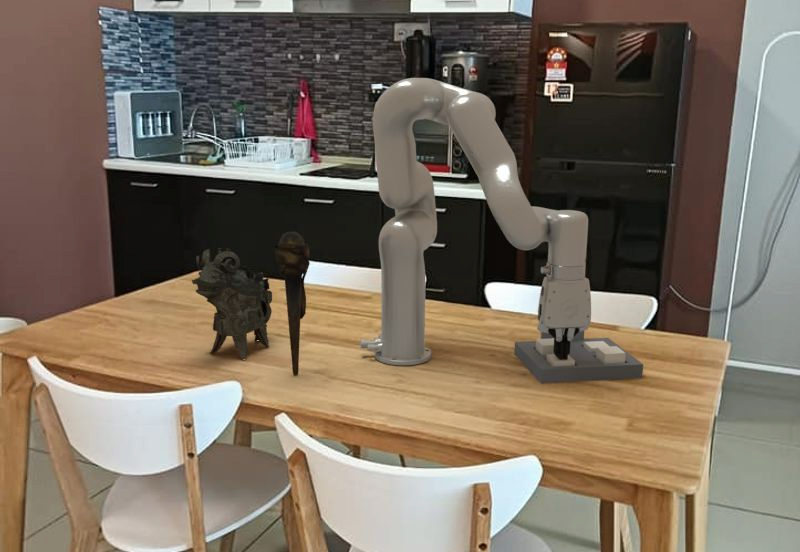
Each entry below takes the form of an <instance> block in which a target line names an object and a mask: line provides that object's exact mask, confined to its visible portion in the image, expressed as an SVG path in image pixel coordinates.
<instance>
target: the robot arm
mask: <svg viewBox="0 0 800 552" xmlns="http://www.w3.org/2000/svg"><path fill="white" fill-rule="evenodd" d="M496 116H497V115H496V107H495V104H494V103H493V102H492V100H491V99H490V98H489V97H488V96H487V95H485V94H483V93H481V92H478V91H473V90H469V89H466V88H463V87H460V86H456V85H453V84H449V83H446V82H443V81H441V80H437V79H433V78H428V77H410V78H409V77H408V78H405V79H401V80H398V81H397V82H395V83H393V84H392V85H390V86H389V87H388V88H387V89H386V90H384V91H383V92H382V94H381V95H380V96H379V97H378V99H377V101H376V103H375V105H374V109H373V114H372V129H373V130H372V131H373V138H374V140H373V141H374V147H375V148H374V149H375V162H376V163H375V164H376V173H377V183H378V187H377V188H378V193H379V197H380V198H381V201H382V203H384V204H385V206H386V207H388V208H391V209H394V213H395V215H394V216H393V217H391V218H390V219H389V220H388V221H387V222H386V223H385V224H384V225H383V226H382V228H381V230H380V232H379V236H378V252H379V259H380V270H381V285H380V286H381V287H380V288H381V327H380V328H381V333H379V334H377V335H378V337H374V339H360V341H359V347H360V349H366V351H368V352H369V351H370V352H371V351H373V353H374V359H375V360H377V361H379V362H380V363H383V364H387V365H391V366H414V365H421V364H422V363H426V362H428V361H429V360H431V358H432V350H431V349H430V348H428V347H427V346H425V333H426V331H425V330H426V329H425V326H426V266H425V260H424V259H425V258H424V253H425V252H424V251H425V250H427V249H428V248H429V247H431V246H432V245H433V243H434V242H435V240H436V237H437V233H438V220H437V207H436V196H435V184H434V180H433V177H432V175H431V172H430V170H429V169H428V168H427V167H426V166H425V165H424V164H423V163H421V162H419V161H418V160H417V149H416V148H417V146H416V140H415V136H414V135H415V134H414V132H413V125H414V123H415V121H416V122H417V121H420V120H429V121H432V122H436V123H439V124H442V125H445V126H449V127H450V130H451V132H452V134H453V135H454V137H455V139H456V141H457V143H458V144H459V145H460V147H461V149H462V151H463V152H464V154H465V156H466V158H467V160H468V162H469V163H470V164H471V166H472V168H473V170H474V172H475V175H477V177H478V178H477V179H478V180H479V184H480V188H481V190H482V192H483V194H484V197H485V199H486V202H487V205H488V207H489V209H490V211H491V214H492V216H493V217H494V220H495V221H496V223H497V224H498V226H499V228H500V230H501V231H502V233H503V235H504V237H505V238H506V240H507V241H508V242H509V243H510V244H511V245H512V246H513V247H515V248H516V249H518V250H522V251H531V250H534V249H535V248H538V246H539V245H541V244H542V243H544V242H547V243H548V254H547V262H546V265H544V266H541V267H540V273H541V274H544V275H546V276H544V277H543V281H542V285H541V289H540V293H539V298H538V306H537V320H538V323H537V328H536V329H537V330H538V331H539V332H540V333H541V332H544V333H549V334H550V335H551V336H552V337H553V338H554V350H553V352H554V354H555V356H556V357H557V358H558V359H559V360H563V359H565V360H567V359H568V354H570V341H572V340H573V337H574V336H575V335H576V334H577V333H578V332H581V331H584V332H585V331H586V330H588V329H589V328H590V327H589V326H590V324H591V322H592V297H591V296H592V293H591V287H590V280H589V278H587V277H586V264H587V263H586V262H587V250H588V249H587V246H588V231H589V217H588V214H586V213H585V212H582V211H579V210H574V209H573V210H572V209H560V210H557V209H551V208H545V207H541V206H531V203H530V201H529V200H528V198H527V196H526V194H525V192H524V190H523V187H522V184H521V182H520V179H519V174H518V165H517V159H516V156H515V153H514V151H513V150H512V148H511V146H510V144H509V142H508V141H507V139H506V137H505V136H504V133H503V132H502V131H501V129H500V127H499V125H498V123H497V122H496ZM563 328H564V331H563V335H562V332H561V329H563Z"/></svg>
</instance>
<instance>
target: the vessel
mask: <svg viewBox="0 0 800 552" xmlns="http://www.w3.org/2000/svg"><path fill="white" fill-rule="evenodd" d="M216 251H217V254H215V258H214V260H212V256H211V250H210V248H208V249H205V250H204V251H203V252H202V257H201V256H200V255H196V258H195V259H196V266H197V268H198V270H200V271H199V272H198V273H197V274H198V275H199V277H197V278H194V279H191V283H192V285H196V286H197V289H195V293H197V294H198V295H199V296H202V297H204V298H205V299H206V302H208V303H209V304H211V305H212V306H214V308H215V309H216V312H214V314H213V315H214V316H213V323H212V330H213V331H215V332H216V334H215V335H216V336H215V340H214V342H213V345H212V347H211V349H210V352H209V354H210V355H213V354H216V353H217V352H218V351H219V350H220V349H221V348H222V346H223V345H224V343H225V341H226V339H227V337H231V338H232V341H233V343H234V347H235V349H236V352H237V354H238V355H239V356H238V357H240V358H241V360H242V359H246V360H247V355H248V354H247V353H248V348H247V347H248V346H247V345H248V344H247V343H248V341H247V336H248V334H249V333H251V332H253V333H254V334H253V335H254V340H253V341H254V342H255V341H257V340H259V341H257V342H260V343H261V344H262V345H263V346H264V347H266V348H267V347H269V348H270V346H269V339H268V338H269V337H268V335H269V334H268V331H267V327H268V325H267V324H268V323H269V321H270V319H271V316H272V312H273V311H272V307H271V303H272V301H273V292H272V291H271V290H270V283H269V280H270V278H269V277H268V278H264V272H263V271H262V272H261V271H260V272H258V273H257V274H255V272H253V271H252V270H251V269H249V268H248V266H245V265H244V266H243V269H244V270H241V269H239V268H240V266H241V261H240V260H241V259H240V258H239V255H237V254H236V253H235V252H234V251H231V249H230V248H226V250H225V251H222V247H219V248H217V249H216ZM231 262H233V263H234V266H233V265H232V264H231ZM212 353H213V354H212Z"/></svg>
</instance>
